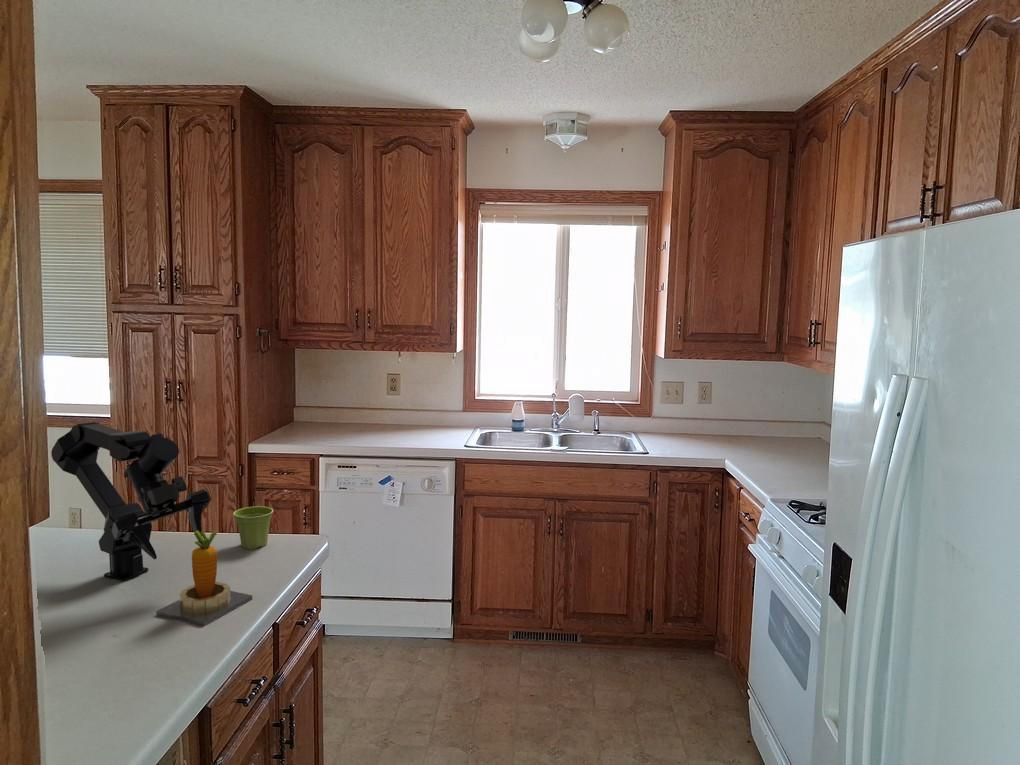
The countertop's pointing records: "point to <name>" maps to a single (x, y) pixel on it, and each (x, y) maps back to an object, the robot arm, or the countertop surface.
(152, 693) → the countertop surface
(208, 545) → the carrot
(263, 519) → the plant pot
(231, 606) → the collar plate
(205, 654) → the countertop surface
